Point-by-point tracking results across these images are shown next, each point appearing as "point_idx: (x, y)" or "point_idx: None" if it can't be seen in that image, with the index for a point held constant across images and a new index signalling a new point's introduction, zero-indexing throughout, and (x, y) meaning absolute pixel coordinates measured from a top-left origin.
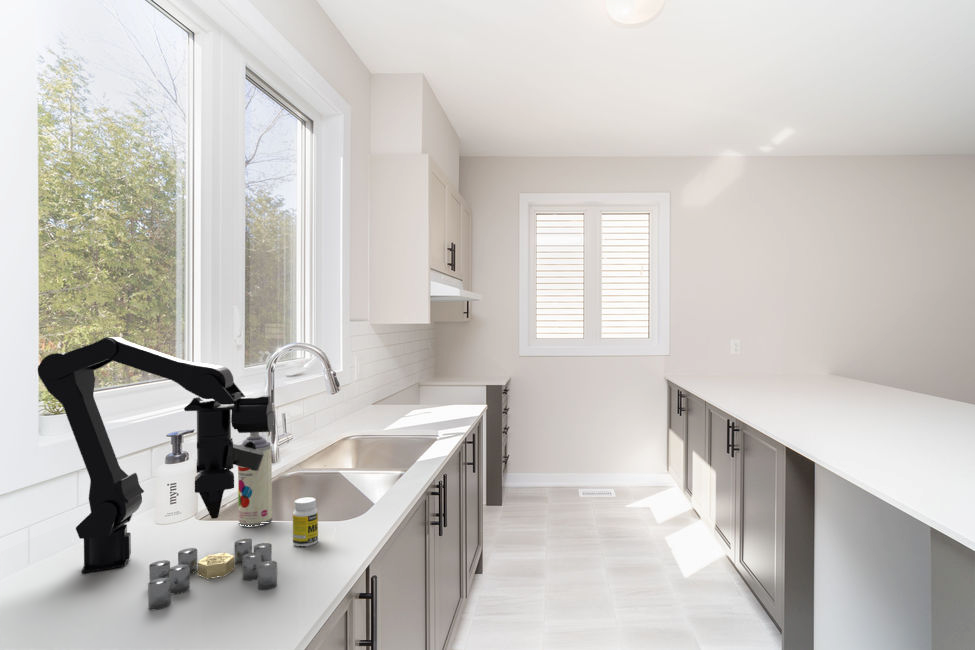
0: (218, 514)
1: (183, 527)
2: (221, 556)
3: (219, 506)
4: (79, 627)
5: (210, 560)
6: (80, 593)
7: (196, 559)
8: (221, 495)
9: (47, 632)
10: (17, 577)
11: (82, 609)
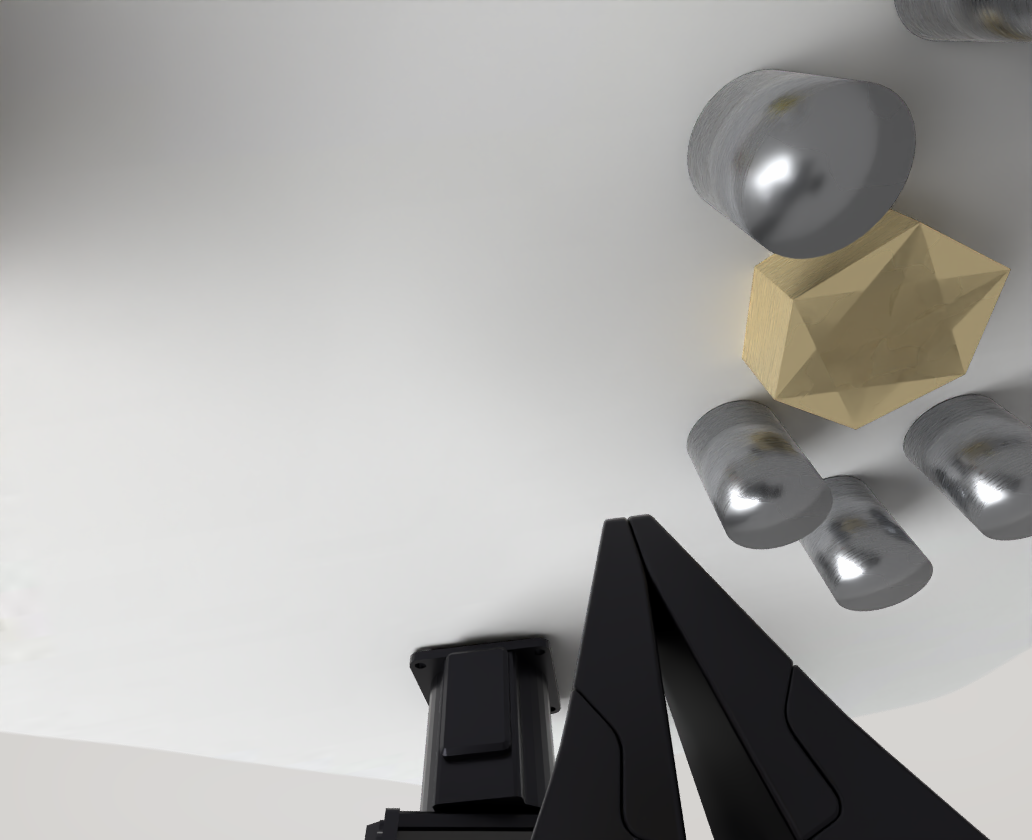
0: (670, 535)
1: (29, 562)
2: (859, 313)
3: (742, 611)
4: (1008, 615)
5: (883, 369)
6: None
7: (782, 441)
8: (904, 774)
9: (969, 658)
10: None
11: (869, 638)
